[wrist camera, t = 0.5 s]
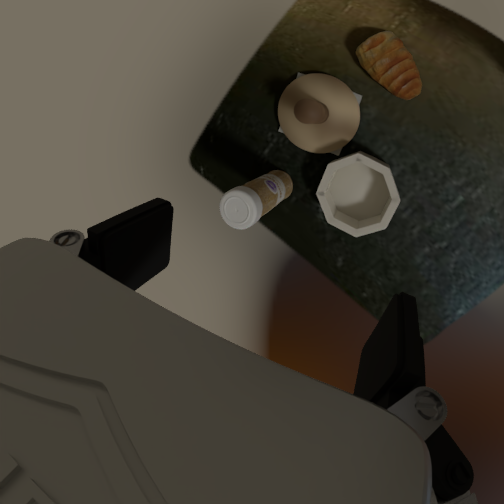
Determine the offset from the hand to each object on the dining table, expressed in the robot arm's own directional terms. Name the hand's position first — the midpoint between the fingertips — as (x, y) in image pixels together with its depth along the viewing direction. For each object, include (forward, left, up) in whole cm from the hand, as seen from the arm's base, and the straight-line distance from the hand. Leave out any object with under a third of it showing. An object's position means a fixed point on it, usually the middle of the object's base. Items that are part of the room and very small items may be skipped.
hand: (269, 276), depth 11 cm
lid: (-5, -7, -31) cm, 32 cm away
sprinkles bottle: (+7, -9, -32) cm, 34 cm away
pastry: (-15, 0, -32) cm, 35 cm away
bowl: (+3, +2, -31) cm, 32 cm away
